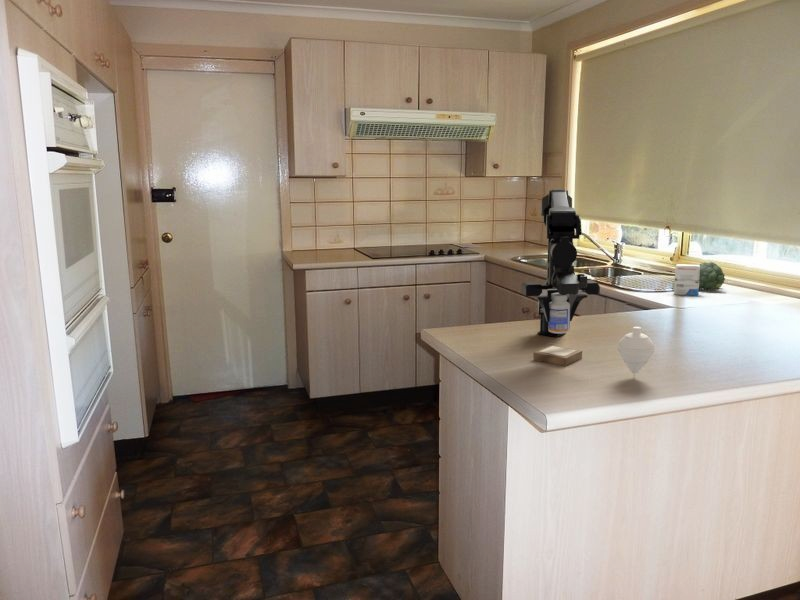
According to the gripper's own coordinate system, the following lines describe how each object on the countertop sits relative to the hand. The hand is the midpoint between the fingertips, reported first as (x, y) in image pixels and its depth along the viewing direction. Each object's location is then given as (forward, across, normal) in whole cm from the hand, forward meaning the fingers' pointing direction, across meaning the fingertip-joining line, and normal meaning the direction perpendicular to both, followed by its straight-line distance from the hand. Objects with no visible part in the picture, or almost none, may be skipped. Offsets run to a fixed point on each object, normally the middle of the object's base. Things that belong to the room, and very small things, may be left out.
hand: (558, 321), depth 158 cm
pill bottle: (+3, 0, 0) cm, 3 cm away
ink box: (+11, +78, +83) cm, 114 cm away
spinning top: (+10, +13, -17) cm, 24 cm away
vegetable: (+11, +91, +92) cm, 130 cm away
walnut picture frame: (+10, 0, 0) cm, 10 cm away
